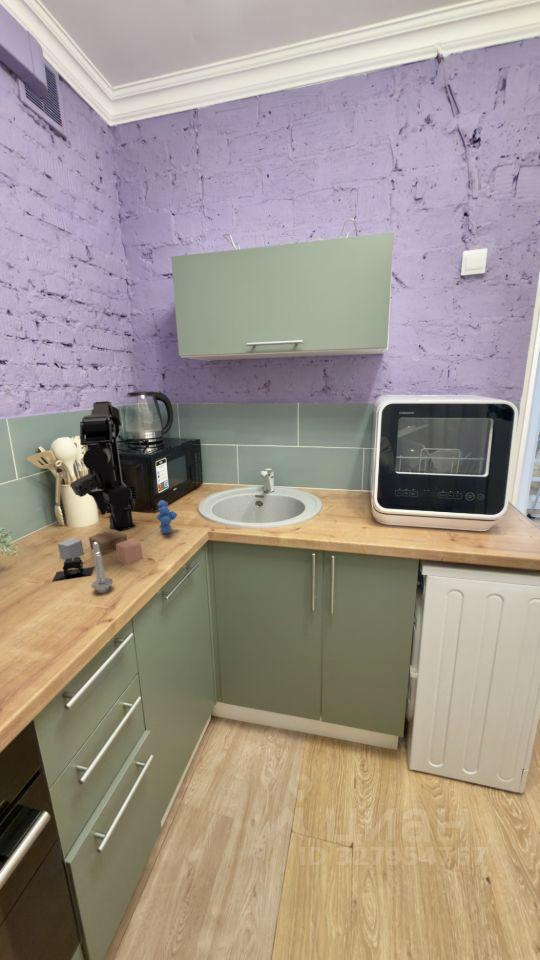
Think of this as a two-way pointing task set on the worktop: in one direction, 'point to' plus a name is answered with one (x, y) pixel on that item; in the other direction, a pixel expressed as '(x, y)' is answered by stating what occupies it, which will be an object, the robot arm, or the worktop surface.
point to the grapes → (165, 516)
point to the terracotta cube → (129, 551)
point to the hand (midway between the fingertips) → (110, 518)
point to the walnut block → (107, 540)
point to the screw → (100, 572)
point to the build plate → (73, 570)
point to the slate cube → (70, 548)
